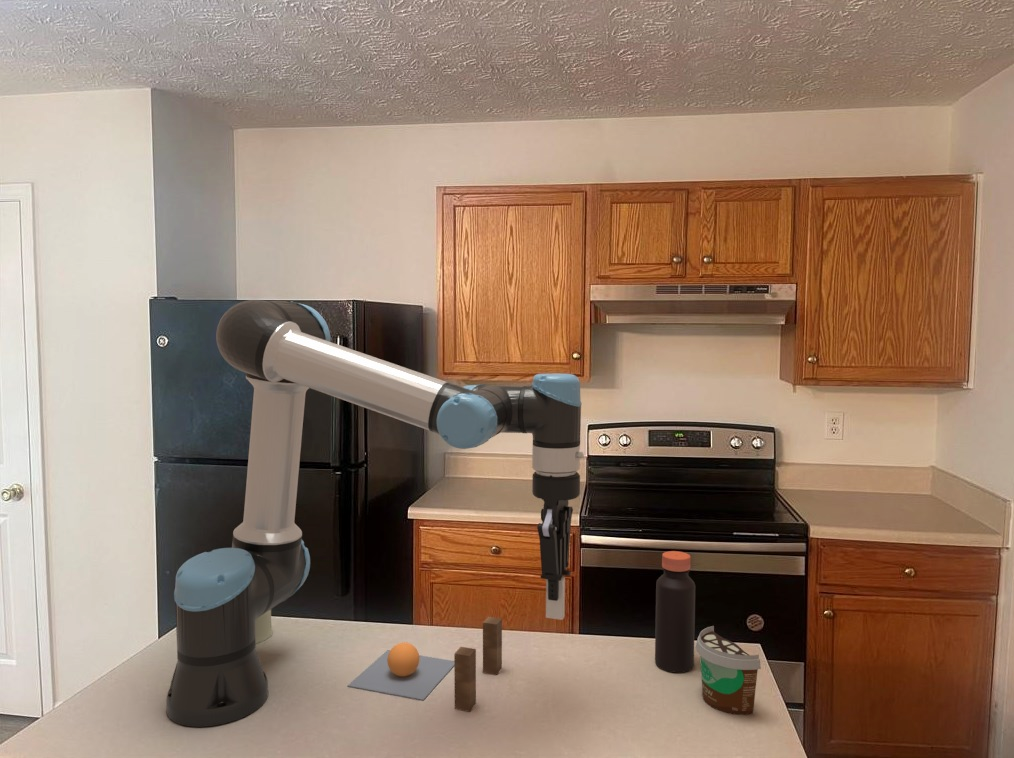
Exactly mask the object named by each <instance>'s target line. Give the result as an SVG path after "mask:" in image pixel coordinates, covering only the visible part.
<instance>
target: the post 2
mask: <svg viewBox="0 0 1014 758" xmlns="http://www.w3.org/2000/svg"><path fill="white" fill-rule="evenodd" d="M502 648H503V619H502V618H500V617H493V616H492V617H491V616H487V618H485V620H484V621H483V622H482V673H483V674H490V675H494V676H495V675H496V676H497V675H498V674H499V672H500V671H502V670H501V669H502V668H503V649H502Z"/></svg>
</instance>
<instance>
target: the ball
mask: <svg viewBox="0 0 1014 758" xmlns="http://www.w3.org/2000/svg"><path fill="white" fill-rule="evenodd" d="M389 650H390V652H389V654H388V658H387V662H388V666H389V669H390V670H391V672H392V673H394V674H395V675H397V676H401V677H404V676H408V675H410V674H412V673H413V672H414V671H415V670H416V669H417V667H418V665H419V655H420V654H419V650H418V649H417V648H416V647H415V645H413V644H411V643H408V642H399V643H397V644H395V645H394V646H392V647H391V649H389Z"/></svg>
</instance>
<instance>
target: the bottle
mask: <svg viewBox="0 0 1014 758" xmlns="http://www.w3.org/2000/svg"><path fill="white" fill-rule="evenodd" d="M661 557H662V558H661V569H662V571H663V574H661V575H660V576H659V577H658V579H656V583H655V585H656V586H655V587H656V588H655V634H654V636H655V637H654V639H655V640H654V641H655V642H654V644H655V645H654V646H655V647H654V662H655V664H656V666H658V668H660V669H661V670H664V671H666V672H669V673H675V674H676V673H678V674H679V673H686V672H689V671H691V670H692V669H693V667H694V664H695V630H696V629H695V626H696V625H695V624H696V621H695V620H696V584H695V582H694V580H693V579H692V578H691V577H690V576H689V573H690V571H691V559H692V558H691V555H690V554H689V553H686V552H683V551H677V550H671V551H664V552H663V553H662V554H661Z"/></svg>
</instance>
